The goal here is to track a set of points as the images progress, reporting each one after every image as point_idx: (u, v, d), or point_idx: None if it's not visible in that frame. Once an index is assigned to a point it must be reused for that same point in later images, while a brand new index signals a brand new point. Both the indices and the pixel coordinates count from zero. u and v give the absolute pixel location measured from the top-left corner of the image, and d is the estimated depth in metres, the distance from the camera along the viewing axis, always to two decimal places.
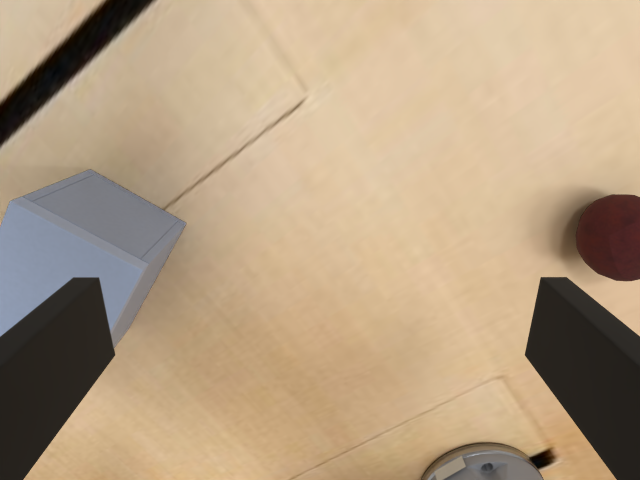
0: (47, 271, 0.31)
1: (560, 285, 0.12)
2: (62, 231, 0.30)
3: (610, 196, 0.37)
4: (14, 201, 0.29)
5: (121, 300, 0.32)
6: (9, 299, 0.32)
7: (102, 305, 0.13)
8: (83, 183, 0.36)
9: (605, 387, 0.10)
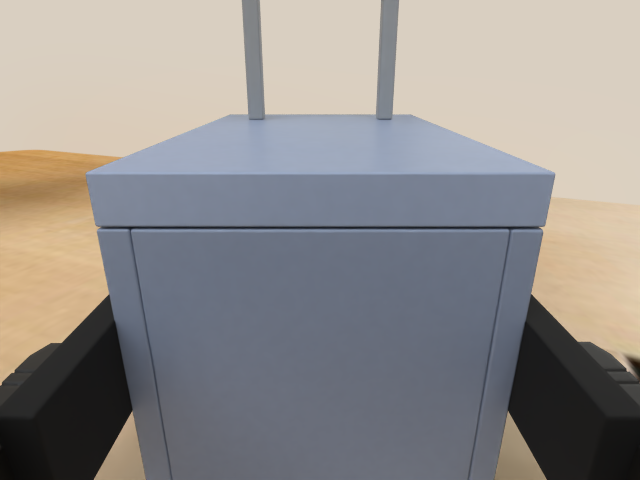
0: (352, 145, 0.12)
1: None
2: (372, 170, 0.09)
3: None
4: (545, 181, 0.09)
5: (155, 148, 0.12)
6: (387, 130, 0.16)
7: None
8: (459, 449, 0.12)
9: None
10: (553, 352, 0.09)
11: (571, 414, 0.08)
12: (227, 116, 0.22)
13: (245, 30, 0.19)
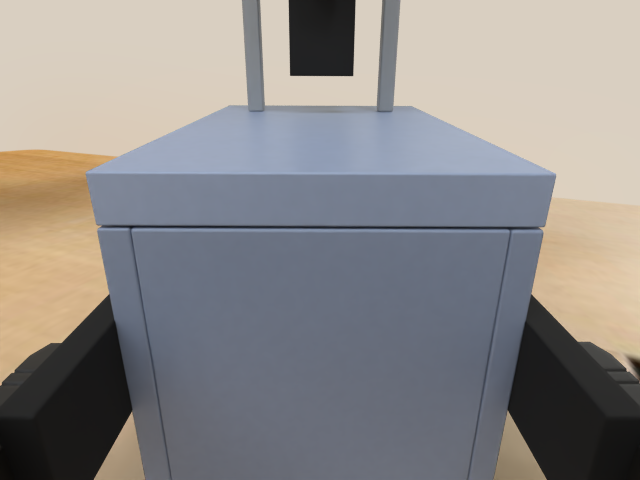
0: (353, 142, 0.12)
1: None
2: (373, 170, 0.09)
3: None
4: (546, 182, 0.09)
5: (155, 144, 0.12)
6: (388, 124, 0.16)
7: None
8: (459, 450, 0.12)
9: (518, 358, 0.11)
10: (553, 352, 0.09)
11: (571, 414, 0.08)
12: (227, 107, 0.22)
13: (245, 20, 0.18)
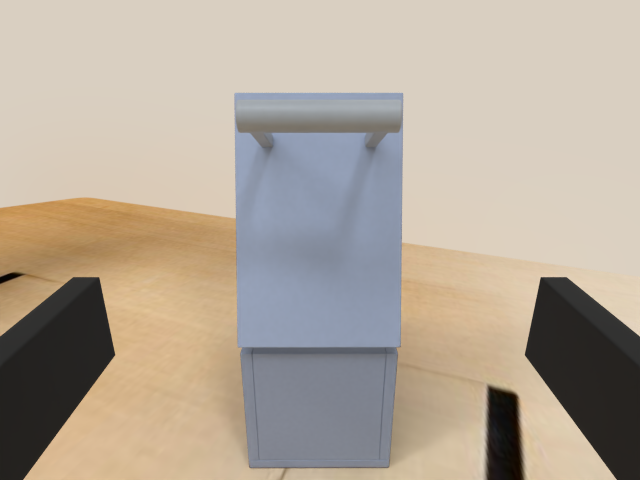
0: (334, 286, 0.26)
1: (560, 285, 0.12)
2: (337, 344, 0.26)
3: None
4: None
5: (242, 296, 0.26)
6: (361, 222, 0.25)
7: (101, 305, 0.13)
8: (375, 432, 0.29)
9: (605, 387, 0.10)
10: None
11: None
12: None
13: (252, 134, 0.21)
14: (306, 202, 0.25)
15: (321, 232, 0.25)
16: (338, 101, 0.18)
